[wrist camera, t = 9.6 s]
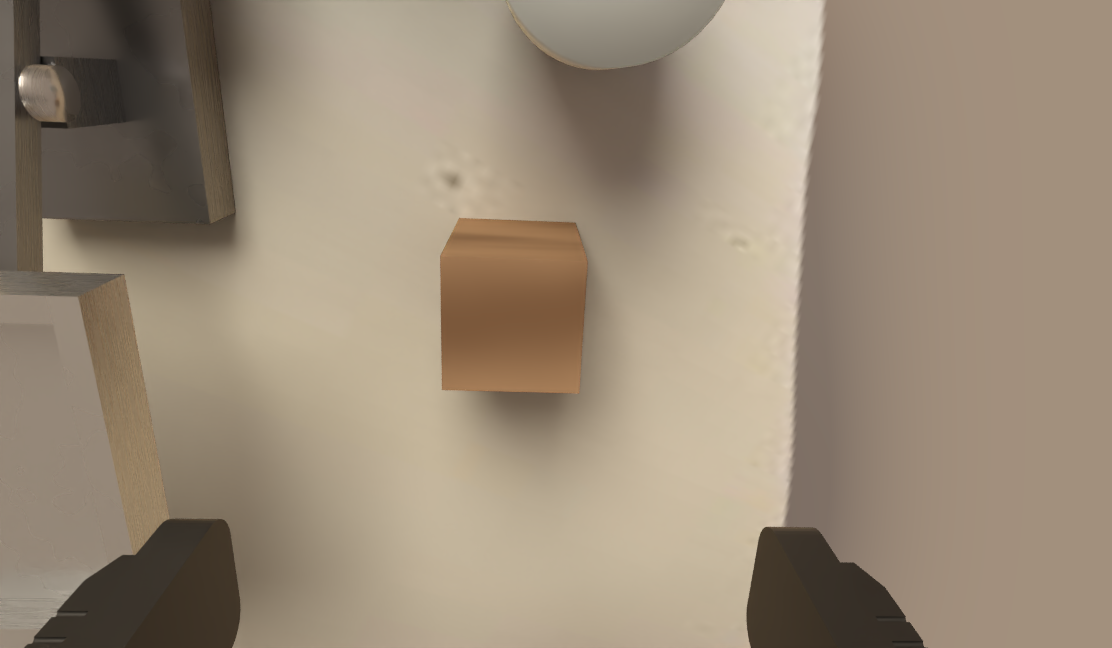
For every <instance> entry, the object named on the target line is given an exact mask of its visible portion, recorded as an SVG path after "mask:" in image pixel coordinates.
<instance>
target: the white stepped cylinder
mask: <svg viewBox="0 0 1112 648" xmlns="http://www.w3.org/2000/svg"><path fill="white" fill-rule="evenodd" d="M724 1H725V0H506V2H507V4H508V7H509V9H510V12H511V14H512V15H513V17H514V19H515V21H516V22H517V24H518V26H519V27H520V28H521V30H522V31H523V32H524V34H525V35H526V36H527V37H528V38H529V39H530V40H531V41H532V42H533V43H534V44H535V46H537V47H538V48H539V49H541V50H542V51H543V52H544V53H546V54H547V55H549V56H551V57H552V58H554V59H556V60H557V61H560V62H562V63H565V64H567V65H570V66H574V67H577V68H581V69H590V70H607V69H616V68H625V67H631V66H638V65H643V64H646V63H649V62H652V61H656V60H658V59H660V58H662V57H665V56H667V55H669V54H671V53H673V52H674V51H676V50H678V49H679V48H681V47H682V46H684V45H685V44H687V43H688V42H689V41H690V40H692V39H693V38H694V37H695V36H696V35H698V34H699V33H700V32H701V31H702V30H703V28H704V27H705V26H706V25H707V24H708V23H709V22H710V21H711V20H712V18H713V17H714V16H715V14H716V13H717V12H718V10H719V9H720V8H721V6H722V4H723V3H724Z"/></svg>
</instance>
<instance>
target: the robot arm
mask: <svg viewBox="0 0 1112 648" xmlns="http://www.w3.org/2000/svg"><path fill="white" fill-rule="evenodd" d="M239 620H240V597H239V590H238V583H237V576H236V569H235V562H234V555H233V548H232V542H231V535H230V529H229V527H228V524H227V523H226V522H225V521H224V520H222V519H168V520H166V521H164V522H163V523H162V524H161V525H160V526H159V527H158V528H157V529H156V531H155V532H154V533H153V534H152V535H151V537H150V538H149V539H148V540H147V541H146V543H145V544H144V545H143V546H142V547H141V549H140V550H139V551H138V552H137V553H136V555H121V556H120V557H118V558H117V559H115V560H114V561H112V562H111V563H109V564H108V565H106V566H105V567H103V568H102V569H100V570H99V571H97V572H96V573H94V574H93V575H91V576H90V577H89V578H87V579H86V580H84V581H83V582H82V583H81V585H80V586H79V587H78V588H77V589H76V590H75V591H74V592H73V594H72V595H71V596H70V597H69V598H68V599H67V600H66V601H65V603H64V604H63V605H62V606H61V607H60V608H59V609H58V610H57V615H56V617H51V618H50V619H49V620H48V622H47V623H46V624H45V625H44V626H43V627H42V628H41V629H40V631H39V632H38V633H37V634H36V635H35V636H34V640H33V643H32V644H27V645H26V646H25V647H24V648H232V646H233V644H234V641H235V638H236V635H237V631H238V626H239ZM747 630H748V637H749V642H750V646H751V648H924V646H923V641H922V639H921V638H920V636H919V635H918V633H917V632H916V631H915V629H914V628H913V626H912V625H911V623H910V622H906V619H905V615H904V614H903V612H902V611H901V609H900V608H899V607H898V605H897V604H896V602H895V601H894V600H893V598H892V597H891V595H890V594H889V593H888V591H887V590H886V588H885V587H883V586H882V585H881V584H880V583H879V582H877V581H876V580H875V579H874V578H872V577H871V576H870V575H869V574H867V573H866V572H865V571H864V570H862V569H861V568H860V567H859V566H857V565H856V564H855V563H840V562H839V560H838V559H837V557H836V556H835V554H834V553H833V551H832V549H831V548H830V546H829V545H828V543H827V542H826V540H825V539H824V537H823V536H822V534H821V533H820V532H819V531H818V530H817V529H816V528H811V527H765V528H764V529H763V530H762V532H761V534H760V537H759V541H758V547H757V553H756V558H755V564H754V570H753V576H752V581H751V587H750V593H749V598H748V604H747Z"/></svg>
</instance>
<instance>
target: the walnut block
mask: <svg viewBox="0 0 1112 648" xmlns="http://www.w3.org/2000/svg"><path fill="white" fill-rule="evenodd" d="M587 264H588V261H587V258H586V255H585V251H584V248H583V245H582V242H581V239H580V236H579V233H578V230H577V226H576V223H569V222H544V221H518V220H492V219H466V218H459V220H458V222H457V224H456V226H455V228H454V230H453V232H452V234H451V236H450V238H449V240H448V242H447V244H446V246H445V248H444V250H443V252H442V254H441V256H440V268H441V345H442V390H467V391H506V392H545V393H579V387H580V372H581V356H582V341H583V326H584V310H585V295H586V280H587Z"/></svg>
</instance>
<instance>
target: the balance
mask: <svg viewBox="0 0 1112 648" xmlns="http://www.w3.org/2000/svg"><path fill="white" fill-rule="evenodd" d="M233 213H235V205H234V197H233V188H232V180H231V172H230V164H229V156H228V147H227V139H226V131H225V123H224V115H223V106H222V98H221V90H220V82H219V74H218V65H217V57H216V49H215V41H214V33H213V25H212V16H211V8H210V0H0V648H24V647H25V646H26V645H27V644H32V643H33V640H34V636H35V635H36V634H37V633H38V632H39V631H40V629H41V628H42V627H43V626H44V625H45V624H46V623H47V622H48V620H49V619H50V618H51V617H56V615H57V610H58V609H59V608H60V607H61V606H62V605H63V604H64V603H65V601H66V600H67V599H68V598H69V597H70V596H71V595H72V594H73V592H74V591H75V590H76V589H77V588H78V587H79V586H80V585H81V583H82V582H83V581H84V580H86V579H87V578H89V577H90V576H91V575H93V574H94V573H96V572H97V571H99V570H100V569H102V568H103V567H105V566H106V565H108V564H109V563H111V562H112V561H114V560H115V559H117V558H118V557H120V556H121V555H136V553H137V552H138V551H139V550H140V549H141V547H142V546H143V545H144V544H145V543H146V541H147V540H148V539H149V538H150V537H151V535H152V534H153V533H154V532H155V531H156V529H157V528H158V527H159V526H160V525H161V524H162V523H163V522H164V521H166V520H168V519H170V518H169V513H168V507H167V502H166V497H165V491H164V486H163V480H162V475H161V470H160V464H159V459H158V453H157V448H156V443H155V437H154V432H153V427H152V421H151V416H150V410H149V405H148V400H147V394H146V389H145V384H144V378H143V373H142V367H141V362H140V357H139V351H138V346H137V340H136V335H135V330H134V324H133V319H132V314H131V308H130V303H129V297H128V292H127V287H126V281H125V276H124V274H97V273H64V272H43V240H42V218H50V219H79V220H107V221H136V222H165V223H194V224H211V223H214V222H216V221H218V220H220V219H222V218H224V217H227V216H229V215H231V214H233Z"/></svg>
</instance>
